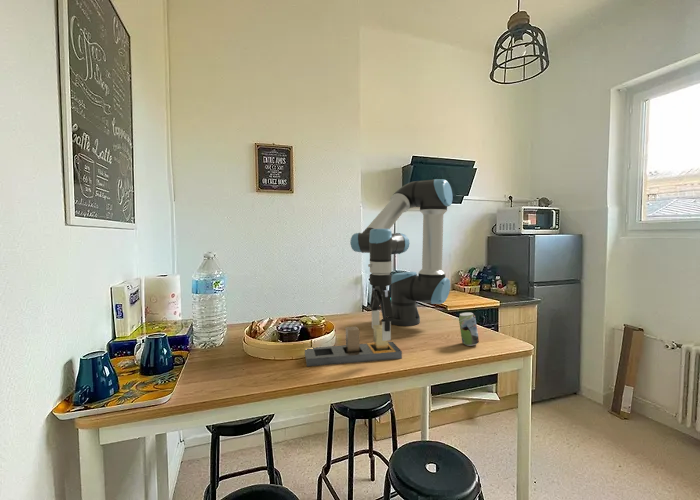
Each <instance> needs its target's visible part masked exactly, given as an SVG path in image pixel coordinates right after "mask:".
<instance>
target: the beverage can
mask: <svg viewBox="0 0 700 500" xmlns="http://www.w3.org/2000/svg"><path fill="white" fill-rule="evenodd" d="M476 319H477V318H476V315H475V314H474V313H473V312H461V313H459V317H458V322H459V330H460V336H461V343H462V344H463V345H465V346H468V347H469V346H470V347H471V346H476V345H478V344H479V342H480V339H479V332H478V327H477V320H476Z"/></svg>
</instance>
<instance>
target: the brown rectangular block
mask: <svg viewBox="0 0 700 500" xmlns="http://www.w3.org/2000/svg"><path fill="white" fill-rule="evenodd" d="M359 344H360V329H359V327H358V326H345V345H346V353H359V352H360V350H359Z"/></svg>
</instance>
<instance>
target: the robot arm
mask: <svg viewBox="0 0 700 500" xmlns="http://www.w3.org/2000/svg"><path fill="white" fill-rule="evenodd" d="M453 200H454V198H453V190H452V187H451V184H450V183H449V182H448V180H446V179H442V178H441V179H440V178H438V179H437V178H435V179H426V180H416V181H411V182H408V183H406V184H404V185H403V186H401V187H400V188H398V189H397V190H396V191H395V192H393V194H392V195H391V196H390V198H389V202H388V203H387V204H386V205H385V206H384V207H383V208H382V210H381V211H380V212H379V213H378V214H377V215H376V217H375V218H374V219H373V220H372V221H371V222H370V223H369V224H368V226H366V228H365V229H364V230H363V232H356V233H353V235H351V238H350V244H349V245H350V247H351V249H352V251H354V252H355V253H362V254H365V253H366V254H369V264H367V266H368V268H369V285H371V295H370V303H369V304H370V305H369V307H370V309H371V329H372V330H374V325H380V322H381V325H382V340H383V341H387V340H388V341H392V340H391V339H392V331H391V330H392V326H391V325H395V326H400V327H401V326H403V327H406V326H408V327H409V326H410V327H411V326H416V325H419V324H420V322H421V316H420V313H419V310H418V307H417V302H419V303H426V304H432V305H435V304H436V305H441V304H444V303H445V302H446V301H447V299H448V298H449V294H450V290H451V281H450V279H449V278H448V277H446V272H445V271H444V270H443V250H444V249H443V245H444V243H443V242H444V238H443V237H444V214H446V213H447V211H448V207H451V205H452V203H453ZM412 208H419V211H420V212H421V214H422V216H423V217H422V218H423V219H422V220H423V221H422V253H421V254H422V255H421V256H422V259H421V262H422V263H421V269H420V270H419V271H418V273H417V272H416V271H403V272H397V273H393V274H391V273H392V270H393V266H392V265H393V264H392V262H393V260H392V255H400V254H403V253H405V252H407V251H408V249H409V247H410V239H409V237H408V236H407V235H406V234H405V233H400V232H395V233H392V229H391V228H392V227H393V226H394V225H395V223H396V222H397V221H398V220H399V218H401V216H402V215H403V214H404V213H407V212H408V211H409V210H410V209H412ZM387 286H390V290H387V289H388V288H387ZM380 310H381V315H382V318H381V321H380Z"/></svg>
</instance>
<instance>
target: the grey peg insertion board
mask: <svg viewBox="0 0 700 500" xmlns="http://www.w3.org/2000/svg"><path fill="white" fill-rule="evenodd" d="M315 347H316V346H315ZM312 348H313V349H307V350H305V349H304V357H305V362H306V367H319V366H329V365H330V366H331V365H340V364H341V365H342V364H343V365H344V364H353V363H364V362H365V363H367V362H376V361H377V362H378V361H388V360H401V359H402V358H403V354H402V353H403V351H402V350H401V349H400V348H399V347H398V346H397V344H396V343H395V342H394V341H388V350H383V351H374V342H367V343H359V350H360V352H359V353H346V344H344V345H343V344H342V345H331V346H329V345H328V346H317V347H316V348H314V347H312Z"/></svg>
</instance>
